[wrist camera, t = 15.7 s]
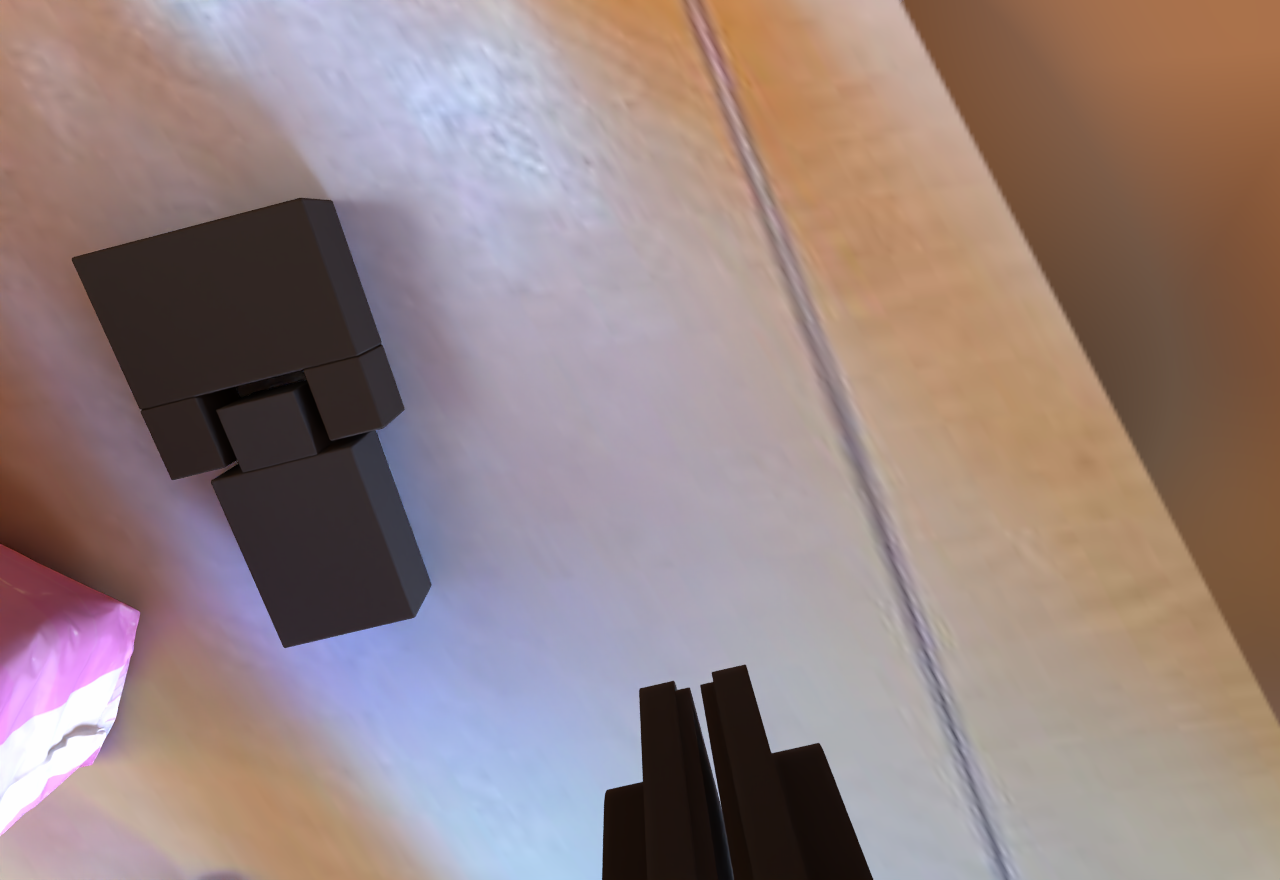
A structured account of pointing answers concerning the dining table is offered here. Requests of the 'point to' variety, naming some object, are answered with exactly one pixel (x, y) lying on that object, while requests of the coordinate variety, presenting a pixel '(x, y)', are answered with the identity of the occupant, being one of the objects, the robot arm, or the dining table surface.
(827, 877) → the robot arm
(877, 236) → the dining table surface
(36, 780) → the package of pads
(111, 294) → the notch pad
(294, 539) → the pad
